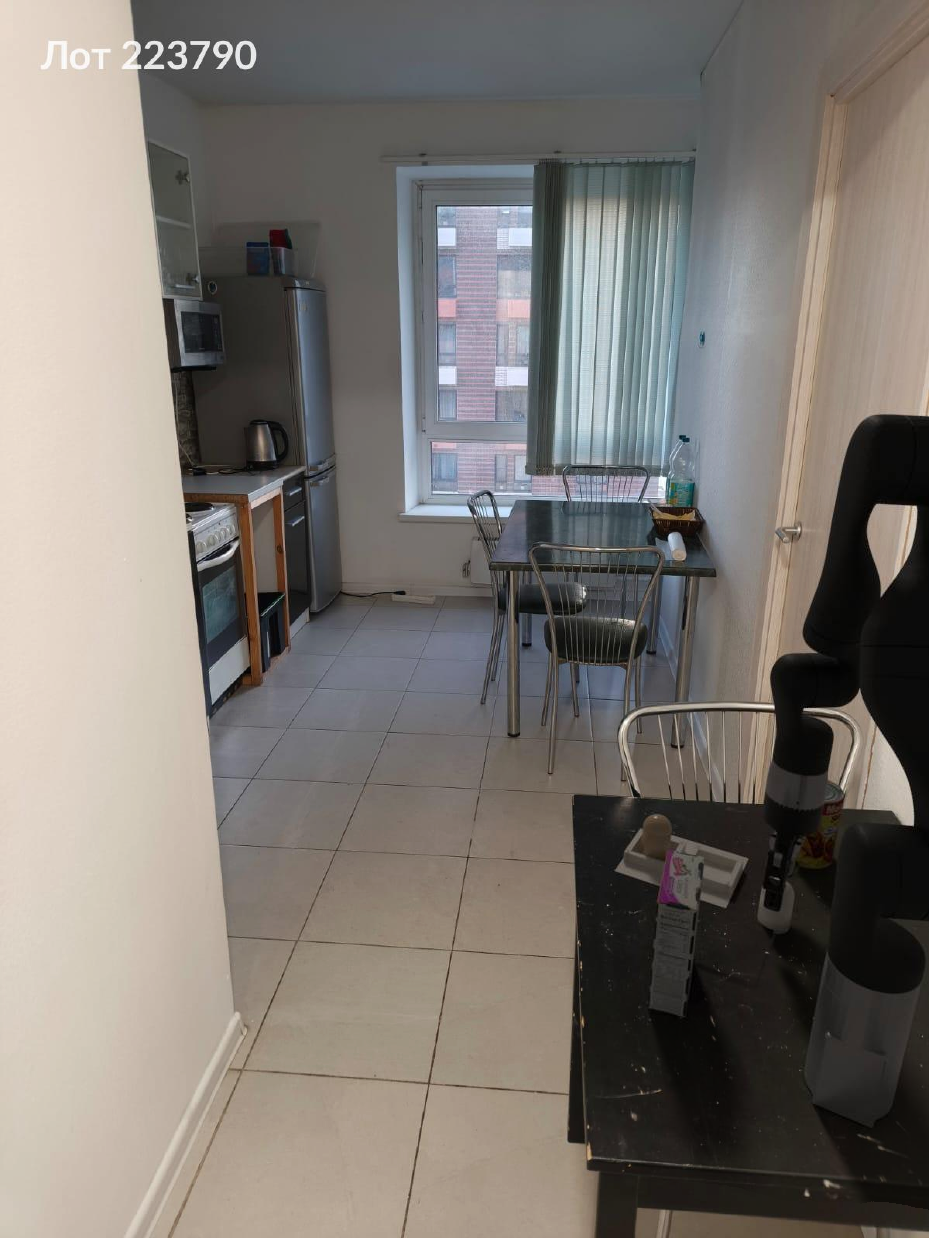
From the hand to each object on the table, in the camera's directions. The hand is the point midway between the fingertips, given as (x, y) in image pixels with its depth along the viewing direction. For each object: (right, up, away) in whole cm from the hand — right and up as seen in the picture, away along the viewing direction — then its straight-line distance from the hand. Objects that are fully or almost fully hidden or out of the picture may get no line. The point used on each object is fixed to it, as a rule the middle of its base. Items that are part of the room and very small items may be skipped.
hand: (778, 891), depth 121 cm
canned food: (+11, 0, +17) cm, 20 cm away
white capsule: (0, -5, +1) cm, 5 cm away
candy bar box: (-18, -9, -10) cm, 22 cm away
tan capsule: (-14, +1, +15) cm, 21 cm away
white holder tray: (-10, -1, +13) cm, 17 cm away
